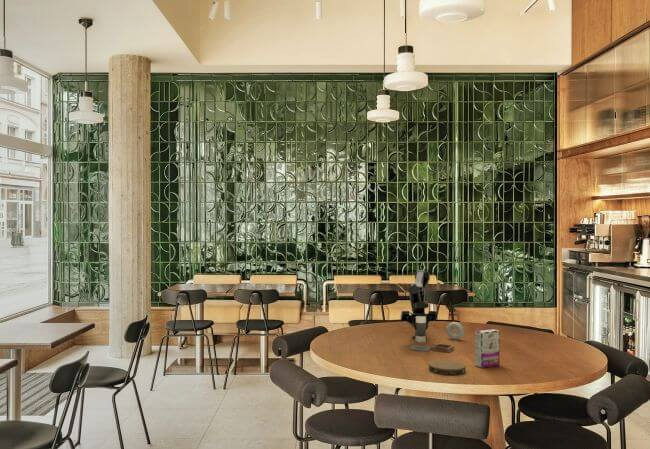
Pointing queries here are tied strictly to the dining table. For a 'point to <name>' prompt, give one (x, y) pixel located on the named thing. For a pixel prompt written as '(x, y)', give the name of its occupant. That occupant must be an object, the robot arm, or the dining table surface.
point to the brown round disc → (447, 367)
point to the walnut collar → (443, 348)
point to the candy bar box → (487, 348)
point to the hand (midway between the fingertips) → (421, 329)
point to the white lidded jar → (420, 329)
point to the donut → (457, 326)
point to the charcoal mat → (420, 348)
